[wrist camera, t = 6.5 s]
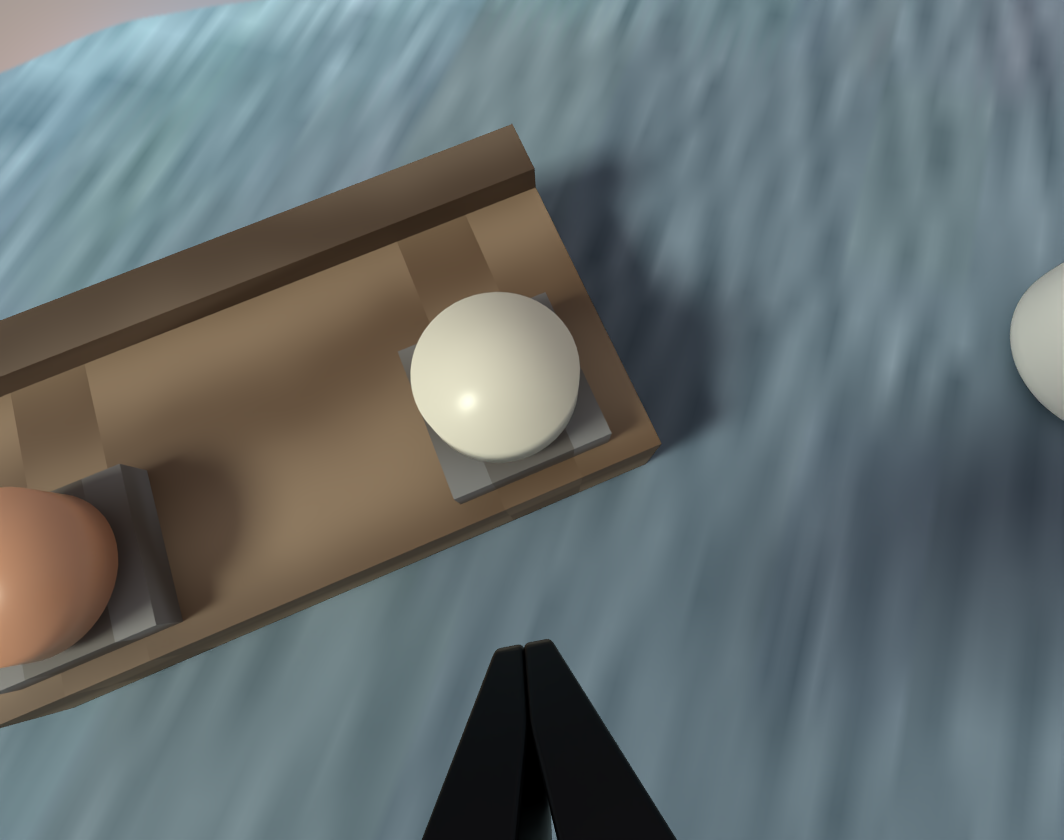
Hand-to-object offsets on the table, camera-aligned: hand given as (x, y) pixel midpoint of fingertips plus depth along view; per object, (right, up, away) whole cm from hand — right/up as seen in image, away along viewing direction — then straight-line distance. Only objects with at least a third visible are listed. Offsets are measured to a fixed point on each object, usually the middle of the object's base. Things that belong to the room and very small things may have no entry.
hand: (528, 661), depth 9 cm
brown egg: (-14, -2, +12) cm, 18 cm away
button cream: (-1, +3, +13) cm, 13 cm away
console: (-8, +3, +14) cm, 16 cm away
